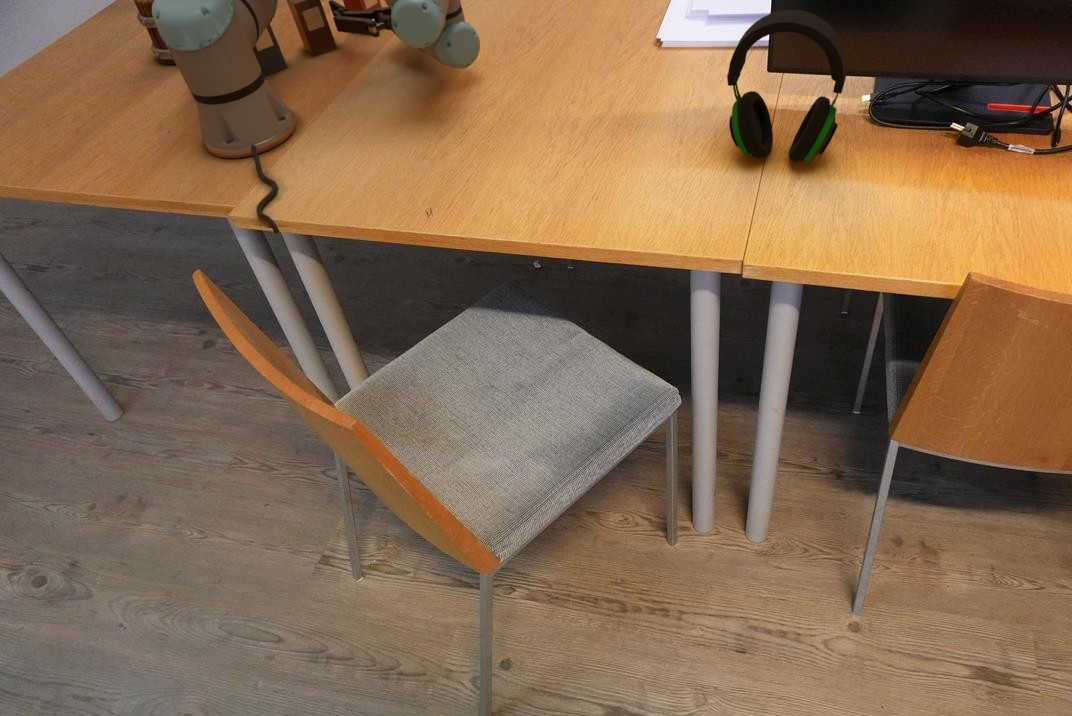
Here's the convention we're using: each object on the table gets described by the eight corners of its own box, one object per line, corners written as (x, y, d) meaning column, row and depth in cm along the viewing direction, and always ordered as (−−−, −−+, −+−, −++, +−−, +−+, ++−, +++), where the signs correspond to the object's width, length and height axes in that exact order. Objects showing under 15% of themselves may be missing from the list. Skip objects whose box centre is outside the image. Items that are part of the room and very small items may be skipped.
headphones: (828, 178, 109) (849, 35, 94) (719, 167, 113) (722, 29, 98) (837, 143, 114) (859, 2, 99) (733, 134, 119) (738, -2, 104)
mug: (139, 63, 157) (107, -19, 147) (194, 44, 167) (167, -34, 157) (182, 69, 153) (152, -15, 143) (235, 49, 163) (210, -31, 153)
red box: (387, 24, 158) (372, -28, 151) (371, 35, 156) (355, -18, 148) (369, 21, 160) (353, -31, 153) (352, 31, 158) (335, -21, 150)
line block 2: (337, 48, 153) (319, -5, 146) (314, 57, 152) (294, 4, 144) (328, 40, 156) (309, -12, 149) (305, 48, 155) (284, -4, 147)
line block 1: (288, 67, 150) (266, 14, 142) (264, 77, 148) (241, 24, 140) (277, 59, 152) (255, 7, 145) (253, 69, 151) (230, 16, 143)
